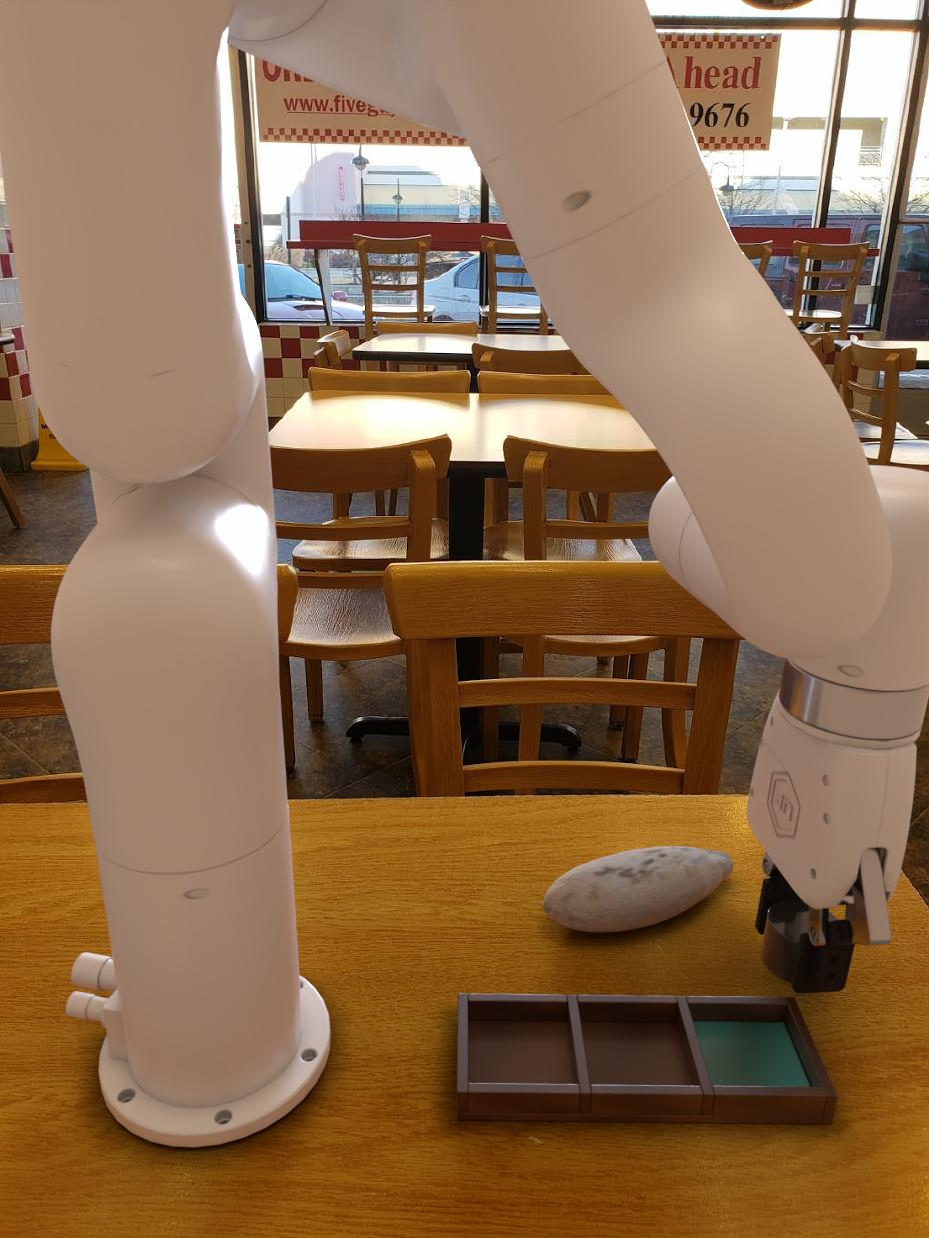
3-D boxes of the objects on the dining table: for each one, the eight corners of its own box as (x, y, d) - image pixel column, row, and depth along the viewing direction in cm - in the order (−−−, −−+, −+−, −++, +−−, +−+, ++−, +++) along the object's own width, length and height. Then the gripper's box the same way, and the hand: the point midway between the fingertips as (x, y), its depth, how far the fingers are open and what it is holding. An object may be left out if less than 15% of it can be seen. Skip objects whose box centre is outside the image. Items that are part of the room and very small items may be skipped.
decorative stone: (754, 899, 67) (760, 859, 65) (570, 966, 60) (573, 922, 59) (698, 853, 72) (702, 815, 71) (522, 910, 65) (524, 869, 64)
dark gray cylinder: (762, 978, 57) (770, 938, 56) (758, 932, 61) (765, 893, 60) (838, 993, 56) (847, 952, 55) (829, 944, 60) (837, 905, 59)
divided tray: (789, 1023, 56) (794, 996, 55) (832, 1124, 49) (838, 1096, 49) (457, 1019, 56) (457, 992, 55) (456, 1120, 49) (456, 1091, 49)
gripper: (728, 636, 59) (692, 878, 66) (866, 773, 44) (801, 1072, 50) (840, 635, 60) (794, 873, 67) (1014, 769, 45) (932, 1063, 51)
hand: (797, 956), depth 58 cm, fingers closed on dark gray cylinder, 4 cm apart
